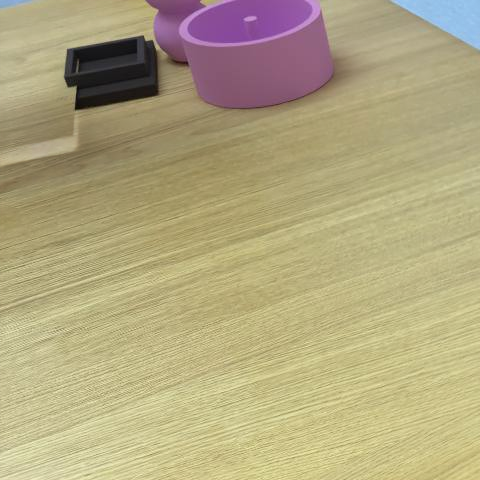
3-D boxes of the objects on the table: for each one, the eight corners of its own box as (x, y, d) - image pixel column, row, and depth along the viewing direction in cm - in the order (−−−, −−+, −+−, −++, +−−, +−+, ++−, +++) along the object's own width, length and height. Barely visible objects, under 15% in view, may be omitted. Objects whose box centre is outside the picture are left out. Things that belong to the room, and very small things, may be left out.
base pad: (66, 111, 115) (56, 87, 113) (71, 65, 125) (62, 41, 123) (158, 94, 117) (150, 70, 115) (156, 49, 126) (148, 26, 124)
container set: (361, 67, 117) (335, -63, 108) (254, 120, 110) (216, -15, 100) (226, 26, 130) (193, -94, 120) (122, 70, 122) (77, -54, 113)
